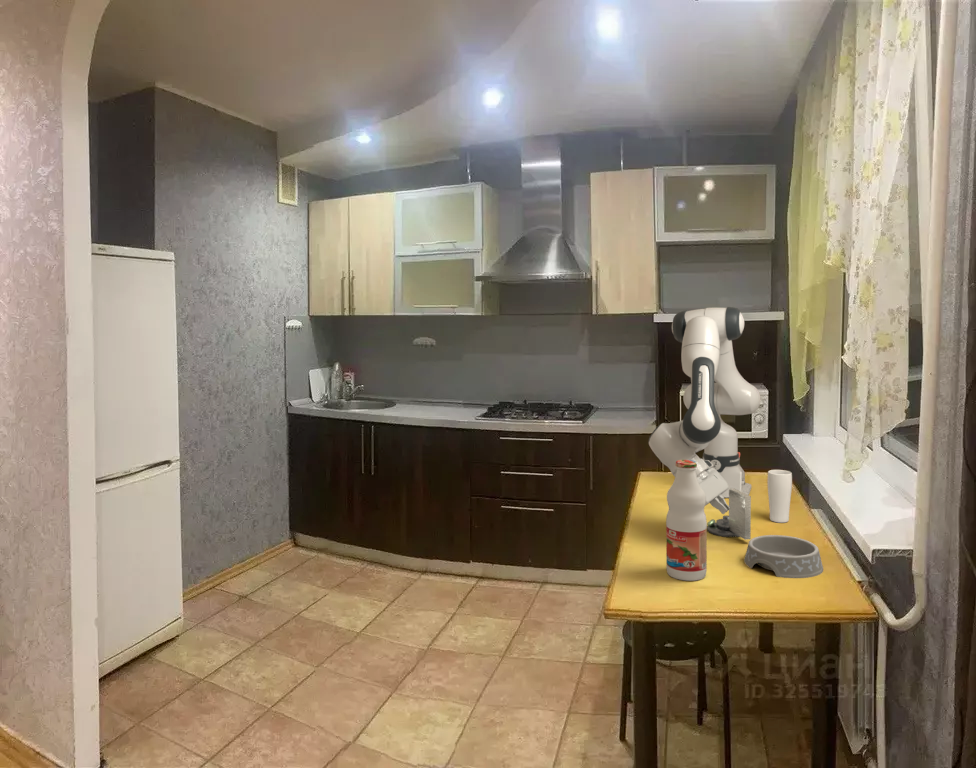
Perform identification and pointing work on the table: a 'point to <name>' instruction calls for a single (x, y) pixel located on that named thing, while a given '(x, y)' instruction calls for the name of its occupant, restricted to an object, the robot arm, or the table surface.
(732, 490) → the upright slab
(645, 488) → the table surface
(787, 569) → the dog bowl
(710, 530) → the base
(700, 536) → the white plastic bottle
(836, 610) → the table surface
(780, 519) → the drinking glass
